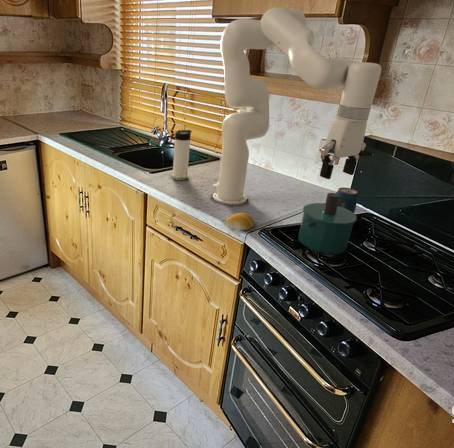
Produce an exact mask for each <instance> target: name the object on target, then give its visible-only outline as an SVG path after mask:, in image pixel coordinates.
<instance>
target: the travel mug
mask: <svg viewBox="0 0 454 448" xmlns="http://www.w3.org/2000/svg"><path fill="white" fill-rule="evenodd" d="M191 133H193V131H192V130H190V129H182V130H177V131H175V134H174V135H175V136H174V144H173V145H174V146H173V160H172V161H173V162H172V175H171V176H172V179H173V180H176V181H185V180H187V179H188V172H189V160H190V148H191Z"/></svg>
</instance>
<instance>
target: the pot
mask: <svg viewBox="0 0 454 448" xmlns="http://www.w3.org/2000/svg"><path fill="white" fill-rule="evenodd" d="M302 213H303V214H302V218H301V221H300V227H299V232H298V241H299V242H300V243H301V245H303V246H305V247H306V248H308V249H311V250H313V251H317V252H321V253H327V254H329V255H331V256H332V255H333V256H334V255H340V254H344V253H345V252H346V250H347V248H348V245H349V241H350V237H351V235H352V230H353V227H354V224H355V223H353V224H350V225H332V224H326V223H322V222H319V221H316V220H313V219H311V218H309V217H308V216H306V215H305V214H304V212H302Z"/></svg>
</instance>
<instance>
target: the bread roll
mask: <svg viewBox="0 0 454 448" xmlns="http://www.w3.org/2000/svg"><path fill="white" fill-rule="evenodd" d="M225 225H226V226H227V227H228V228H230V229H233V230H236V231H248V230H250V229H251V228H253V227H254V226H255V220H254V218H253V217H252V215H250V214H248V213H246V212H236V213H233V214H231V215H230V216H229V217H227V218H226V221H225Z"/></svg>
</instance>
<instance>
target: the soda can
mask: <svg viewBox="0 0 454 448" xmlns="http://www.w3.org/2000/svg"><path fill="white" fill-rule="evenodd" d="M335 193H336V194H339V195H340V199H339V203H338V206H339V207H342V208H345V209H347V210H349V211H351V212H353V213H354V214H355V212H356V209H357V204H358V200H359V195H358V190H356V189H354V188H351V187H339V188H338V189H337V191H336V192H335Z"/></svg>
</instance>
